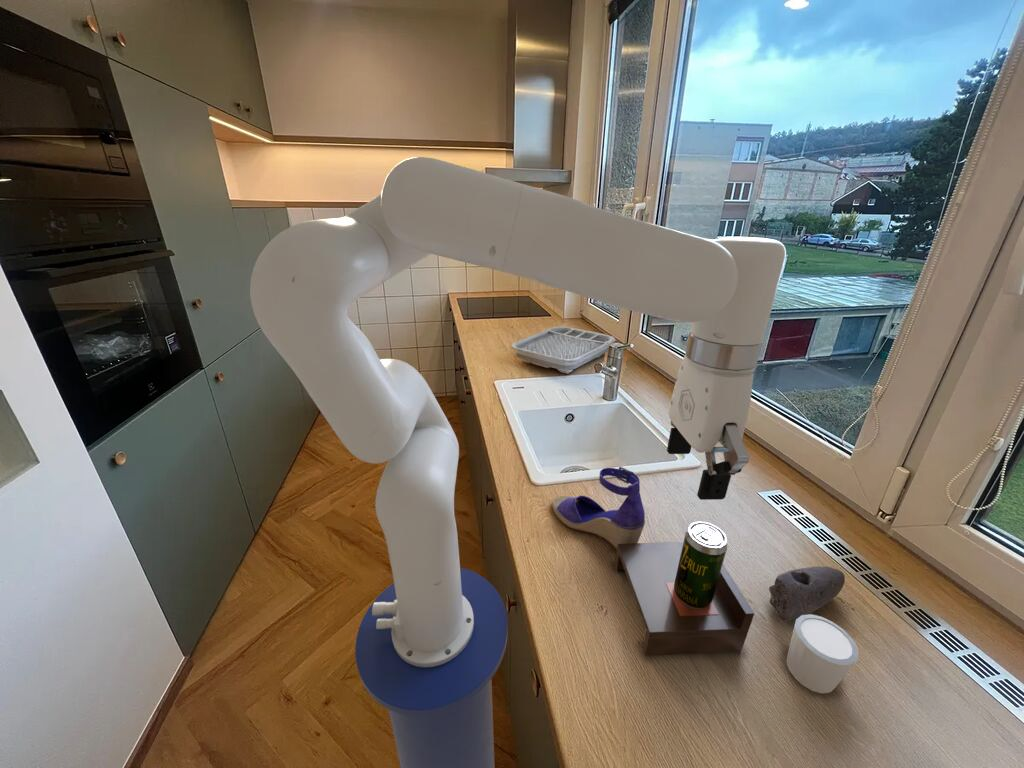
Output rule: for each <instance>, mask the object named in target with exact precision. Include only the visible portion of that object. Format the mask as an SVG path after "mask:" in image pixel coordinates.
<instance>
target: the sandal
mask: <svg viewBox="0 0 1024 768" xmlns="http://www.w3.org/2000/svg"><path fill="white" fill-rule="evenodd" d="M607 476H608V477H615V478H616V479H617V480H619V481H621V482H624V483H625V484H629V485H628V486H620V485H617V484H614V483H613V482H611V481H608V480H607V479H606V478H605V477H607ZM599 484H600V485H601V486H602V487H603V488H604V489H606V490H608V491H610V492H611V493H613V494H615V495H618V496H624V497H625V496H626V498H624V500H623V502H622V504H621V505H620V506H619V508H618V509H610V510H605V509H604V508H603V507H602V506H601V505H600V504H599V503H598V502H597V501H595V500H594V499H593V498H591V497H589V496H587V495H578V496H576V497H575V496H574V497H573V496H568V495H567V496H566V495H563V496H558V497H555V498H554V499H553V501H552V511H553V512H554V515H555V516H556V517H557V518H558V520H559V521H560V522H561V523H562V524H564V525H565V526H566V527H568V528H570V529H572V530H576V531H579V532H585V533H589V534H593V535H595V536H598V537H600V538H602V539H604V540H605V541H606V542H608V543H609V544H611V546H613V547H612V548H613V549H614V550H616V551H617V546H618V544H631V543H639V541H640V538H641V535H642V533H643V530H644V527H645V525H646V520H645V518H646V517H645V514H646V513H645V508H644V504H643V501H642V497H641V492H640V489H641V487H640V485H641V484H640V478H639V476H638V475H637V474H635V472H634V471H631V470H629V469H627V468H625V467H623V466H619V467H618V468H615V467H605V468H602V469H601V470H600V471H599Z"/></svg>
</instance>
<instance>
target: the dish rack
mask: <svg viewBox="0 0 1024 768" xmlns="http://www.w3.org/2000/svg"><path fill="white" fill-rule="evenodd" d="M616 340H617V339H616V338H615V337H614V336H613V335H609V334H605V333H600V332H596V331H591V330H586V329H580V328H576V327H570V326H552V327H549V328H547V329H544V330H543V331H540V332H538V333H535V334H533V335H530V336H528V337H526V338H523V339H520V340H517V341H515V342H513V343H511V345H510V347H511V348H512V349H513V350H515V353H514V354H515V357H516V358H518V359H520V360H523V362H524V363H527V364H533V365H536V366H539V367H543V368H547V369H549V368H553V369H556V370H558V372H559V373H561V374H562V373H563V374H569V373H572V372H574V370H576V369H577V368H579V367H582V366H584V365H586V364H587V363H589V362H591V361H592V360H594V359H596V358H597V359H598V358H599V357H601V356H603V354H605V353H608V352H609V351H608V347H609V345H610V346H611V344H613V343H614V342H616Z"/></svg>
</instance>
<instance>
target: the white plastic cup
mask: <svg viewBox="0 0 1024 768" xmlns="http://www.w3.org/2000/svg"><path fill="white" fill-rule="evenodd" d="M788 647H789V648H788V652H787V656H786V665H787V668H788V671H789V672H790V673H791V675H792V676H793V678H794V679H795V680H796V681H797V682H799V684H800V685H802V686H803V687H805V688H807V690H810V691H811V692H814V693H818V694H821V695H822V694H831V693H832V692H833V691H834V690H835V688H836V687H837V686H838V685H839V684H840V683H841V681H842V680H843V679H844V677H845V676H846V675H847V674H848V672H849V671H850V670H851V669H852V667H853V666H854V665H855V664H856V662H858V660H859V649H858V646H857V644H856V642H855V640H854V639H853V638H852V637H851V636H850V635H849V633H848V632H847V631H846V630H844V629H843V628H842V627H840V626H839V625H838V624H837V623H835V622H834V621H831V620H829V619H828V618H825V617H823V616H820V615H817V614H812V613H810V614H808V615H801V616H800V617H799V618H797V619H795V622H794V627H793V631H792V636H791V639H790V643H789V646H788Z"/></svg>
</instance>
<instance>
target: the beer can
mask: <svg viewBox="0 0 1024 768" xmlns="http://www.w3.org/2000/svg"><path fill="white" fill-rule="evenodd" d="M682 542H683V547H682V551H681V556H680V560H679V565H678V569H677V574H676V578H675V583H674V590H675V593H676V596H677V598H678V599H679V601H680V602H682V603H683V604H684V605H685V606H687V607H689V608H692V609H695V610H701V609H705V608H706V607H708V606H709V605H711V603H712V601H713V597H714V594H715V590H716V586H717V583H718V579H719V576H720V572H721V569H722V565H724V561H725V558H726V554H727V550H728V538H727V535H726V533H725V532H724V531H723V530H722V529H721V528H720V527H718V526H716V525H715V524H712V523H710V522H706V521H694V522H691V523H690V525H689V526H688V528H687V529H686V531H685V532H684V538H683V541H682Z"/></svg>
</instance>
